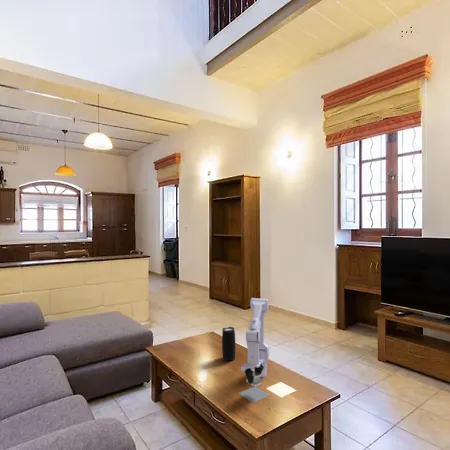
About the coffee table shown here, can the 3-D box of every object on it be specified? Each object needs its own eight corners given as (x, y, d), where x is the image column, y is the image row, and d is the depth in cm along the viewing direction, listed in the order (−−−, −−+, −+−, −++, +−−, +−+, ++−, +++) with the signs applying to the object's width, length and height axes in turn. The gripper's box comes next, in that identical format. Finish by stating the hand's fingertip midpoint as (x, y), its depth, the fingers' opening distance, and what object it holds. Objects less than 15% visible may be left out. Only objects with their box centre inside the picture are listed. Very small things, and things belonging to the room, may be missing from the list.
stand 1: (238, 396, 159) (238, 393, 159) (255, 389, 165) (255, 386, 165) (252, 405, 150) (252, 402, 150) (269, 398, 156) (269, 395, 156)
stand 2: (265, 391, 163) (265, 388, 163) (280, 384, 169) (280, 381, 169) (281, 400, 154) (281, 397, 154) (296, 393, 160) (296, 390, 160)
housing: (246, 381, 159) (246, 371, 159) (252, 379, 161) (252, 369, 161) (254, 386, 154) (254, 376, 154) (261, 384, 156) (261, 374, 156)
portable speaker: (232, 355, 209) (232, 325, 209) (237, 360, 200) (237, 330, 200) (220, 357, 206) (220, 327, 206) (224, 362, 197) (224, 331, 197)
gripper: (247, 360, 150) (247, 389, 150) (269, 353, 159) (269, 380, 159) (238, 356, 156) (238, 383, 156) (260, 348, 164) (260, 374, 164)
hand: (253, 381), depth 158 cm, fingers closed on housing, 4 cm apart
